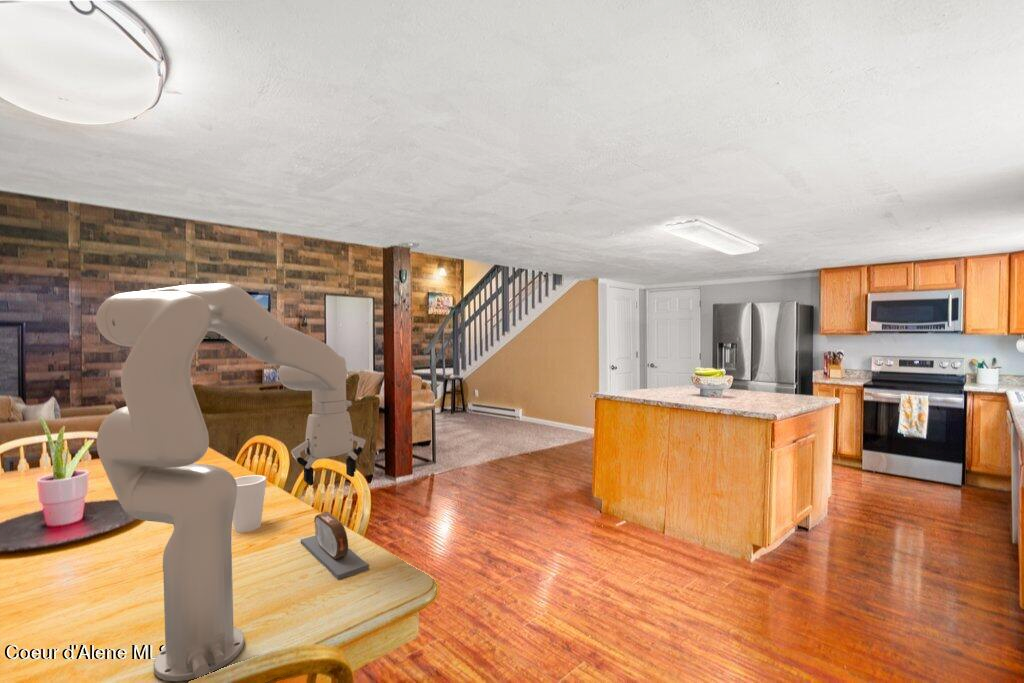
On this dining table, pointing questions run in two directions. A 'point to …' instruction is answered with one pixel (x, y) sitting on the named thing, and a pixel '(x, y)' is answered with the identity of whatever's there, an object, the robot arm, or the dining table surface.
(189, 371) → the robot arm
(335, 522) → the tin
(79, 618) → the dining table surface
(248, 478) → the foam cup
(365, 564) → the charcoal mat
